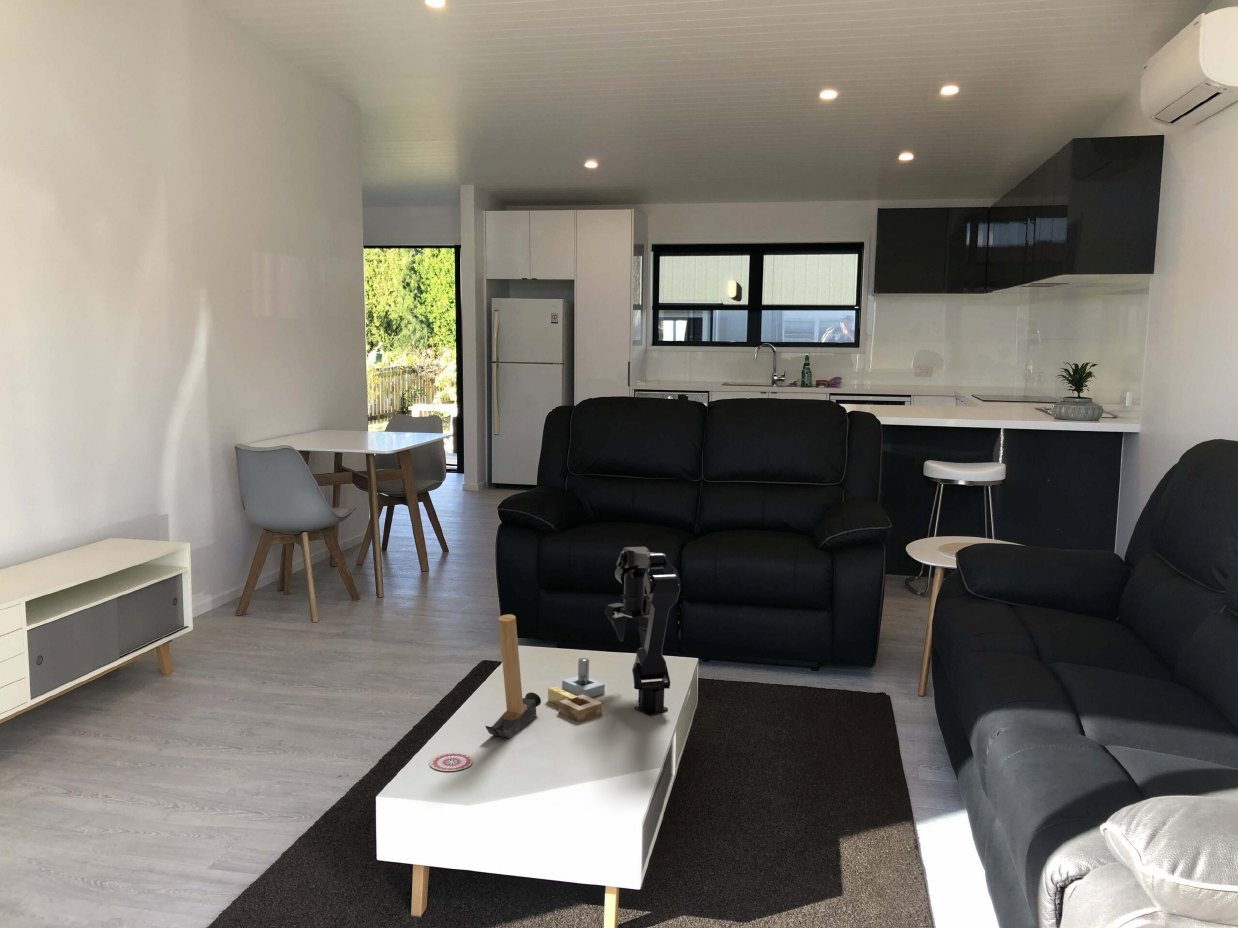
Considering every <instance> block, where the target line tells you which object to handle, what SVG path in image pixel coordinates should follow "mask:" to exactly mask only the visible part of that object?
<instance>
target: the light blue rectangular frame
mask: <svg viewBox="0 0 1238 928" xmlns="http://www.w3.org/2000/svg"><path fill="white" fill-rule="evenodd" d="M561 686H562V687H561V689H562V690H564V691H566V692H569V693H571V694H573V695H575V696H579V695H582V694H583V695H585V696H588V697H590V698H593V697H595V696H597V697H598V696H600V695H604V694H605V692H606V691H605V688H606V687H605V683H602V682H601V681H597V680H595V679H593V678H590V677H589V684H588V685H585V686H581V685H578V675H575V676H572V677H568V678H565V679H562V683H561Z"/></svg>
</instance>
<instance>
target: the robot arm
mask: <svg viewBox="0 0 1238 928" xmlns="http://www.w3.org/2000/svg"><path fill="white" fill-rule="evenodd" d="M642 569H645V572H643V570H642ZM656 569H658V570H659V569H662V571H663V572H664V574H652V575H650V574H649V571H650V570H656ZM614 576H615V579H616V580H617V581H619V583H621V584H622V586H623V593H621V594H620V599H623V603H621V602H616V603H611V604H607V605H606V606H605V607H604V616H605V617H606V616H607V619H608V620H609V621H610V623H611V625H612V628H613V629H614V631H615V634H616V636H617V638H618V640H619V642H624V640H625V635H626V621H627V620H628V618H629V619H633V620H635V621H638V624H639V627H638V632H639V639H640V645H641V647H639V648H637V650H636V655H635V659H634V661H635V662H634V663H633V665H632V669H631V670H632V676H633V677H632V678H633V688H634V690H637V691H638V702H637V703H638V704H637V705H636V706H634V709H635V710H637V711H639V712H642V713H644V714H646V715H649V716H654V715H658V714H660V713H663V712H666V711H668V710H669V708H668V707H666V706H665V690H666V689H667V690H669V689H671V688H670V687H671V679H670V673H669V670H668V665H667V662H666V659H665V657H664V655H663V647H664V642H665V637H666V630H667V624H668V620H669V619H668V618H669V612H670V609H671V608H672V607H673V606H674V605H675V604H676V603H677V602H678V598H679V595H680V592H681V591H682V581H681V578H680V575H679V572H678V569H677V568H676V567H674V565H672V563H670V562H669V561H668V558H667V556H666V554H665V553H662V552H651V551H650V550H649V548H648V547H646V546H629V547H628V546H627V547H626V546H625V547H624V548H623V549H622V551H621V552H620V555H619V556H618V559H617V562H616V569H615V571H614ZM645 590H646V594H645ZM648 613H649V614H648ZM650 680H654V681H650Z"/></svg>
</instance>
